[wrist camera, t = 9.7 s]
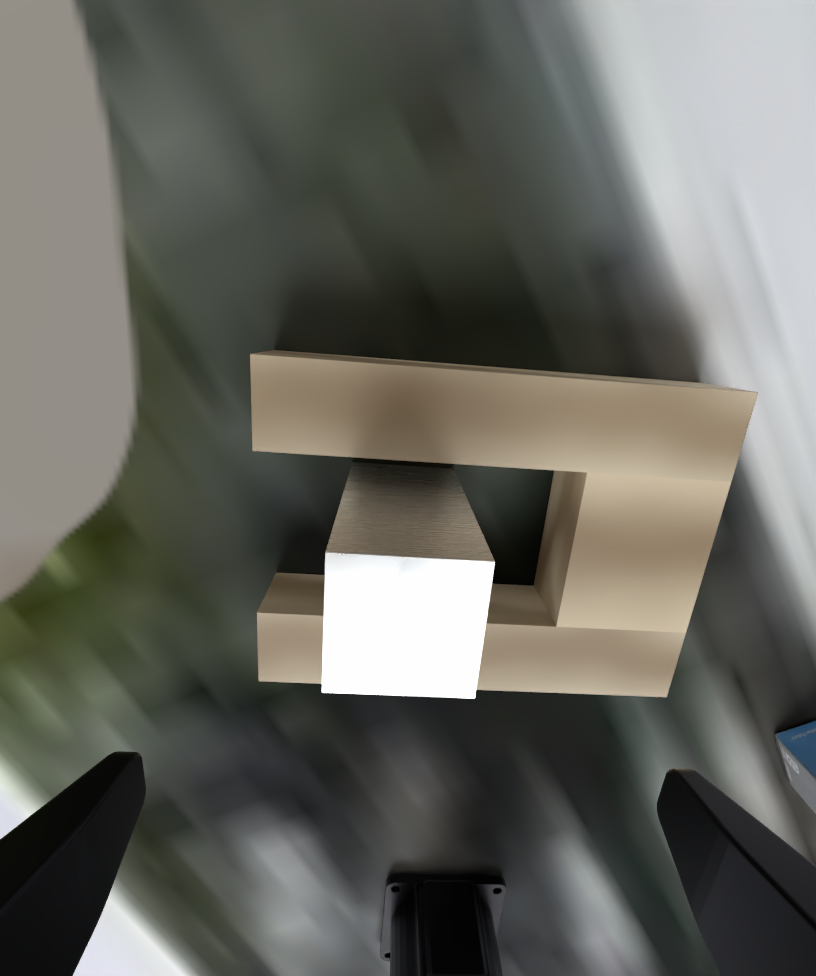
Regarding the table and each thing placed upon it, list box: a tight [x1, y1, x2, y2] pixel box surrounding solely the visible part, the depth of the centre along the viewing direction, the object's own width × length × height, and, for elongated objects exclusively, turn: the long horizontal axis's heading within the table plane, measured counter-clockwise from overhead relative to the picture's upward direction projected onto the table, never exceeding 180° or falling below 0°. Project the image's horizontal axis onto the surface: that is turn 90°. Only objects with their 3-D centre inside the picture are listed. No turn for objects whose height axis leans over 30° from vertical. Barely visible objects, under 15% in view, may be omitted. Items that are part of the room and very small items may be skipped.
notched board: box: [250, 350, 758, 697], centre depth 18 cm, size 12×16×3 cm
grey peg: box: [322, 462, 495, 699], centre depth 16 cm, size 4×4×8 cm
